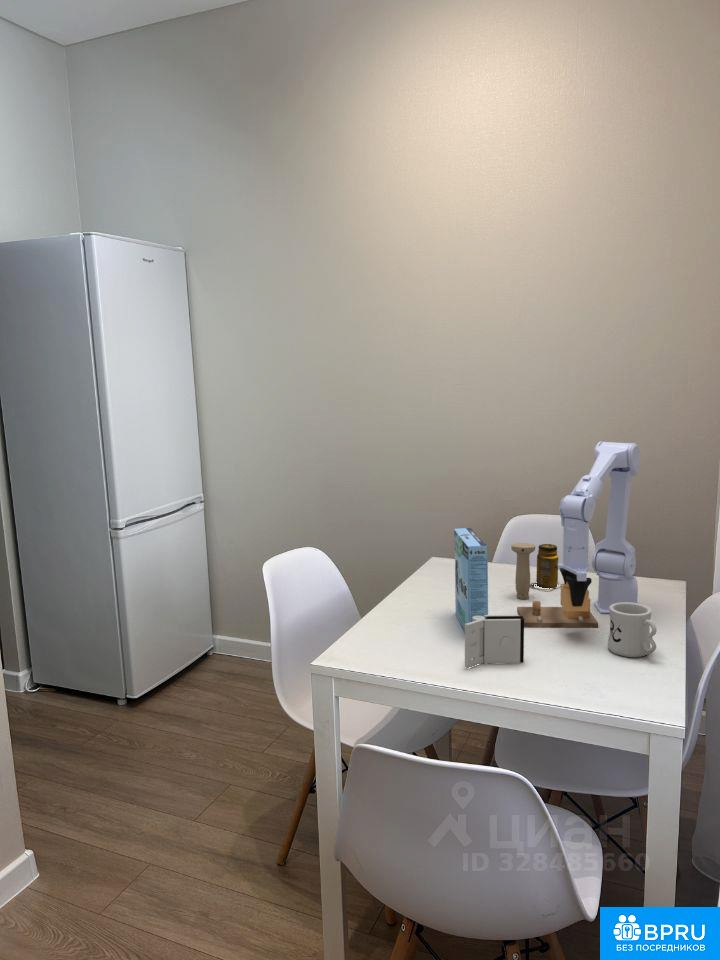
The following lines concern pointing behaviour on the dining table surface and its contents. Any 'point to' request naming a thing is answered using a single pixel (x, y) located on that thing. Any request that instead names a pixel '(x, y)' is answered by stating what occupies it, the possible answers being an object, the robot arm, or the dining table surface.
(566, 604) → the cube with round boss
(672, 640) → the dining table surface
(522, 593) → the handle
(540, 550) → the condiment
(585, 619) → the junction board
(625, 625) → the mug
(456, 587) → the gum box
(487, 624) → the hinge
